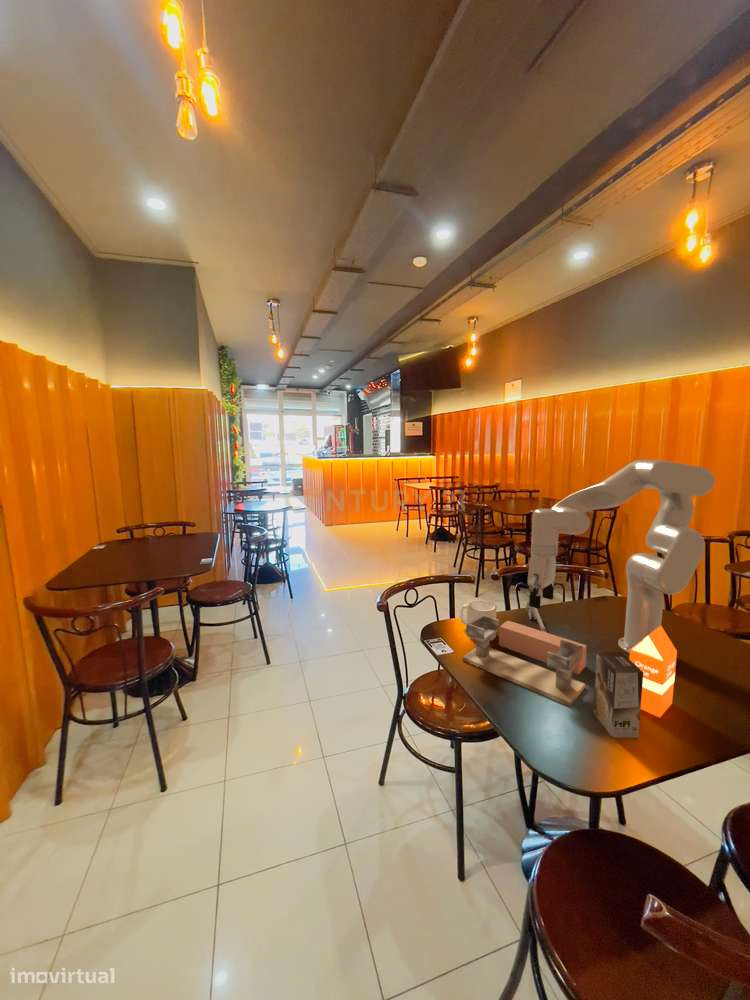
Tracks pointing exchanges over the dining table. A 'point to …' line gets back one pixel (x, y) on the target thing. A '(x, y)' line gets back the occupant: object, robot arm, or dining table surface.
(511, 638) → the rail
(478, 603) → the mug
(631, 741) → the dining table surface
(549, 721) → the dining table surface
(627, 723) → the coffee box
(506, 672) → the cradle stand
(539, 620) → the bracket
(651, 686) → the orange juice
